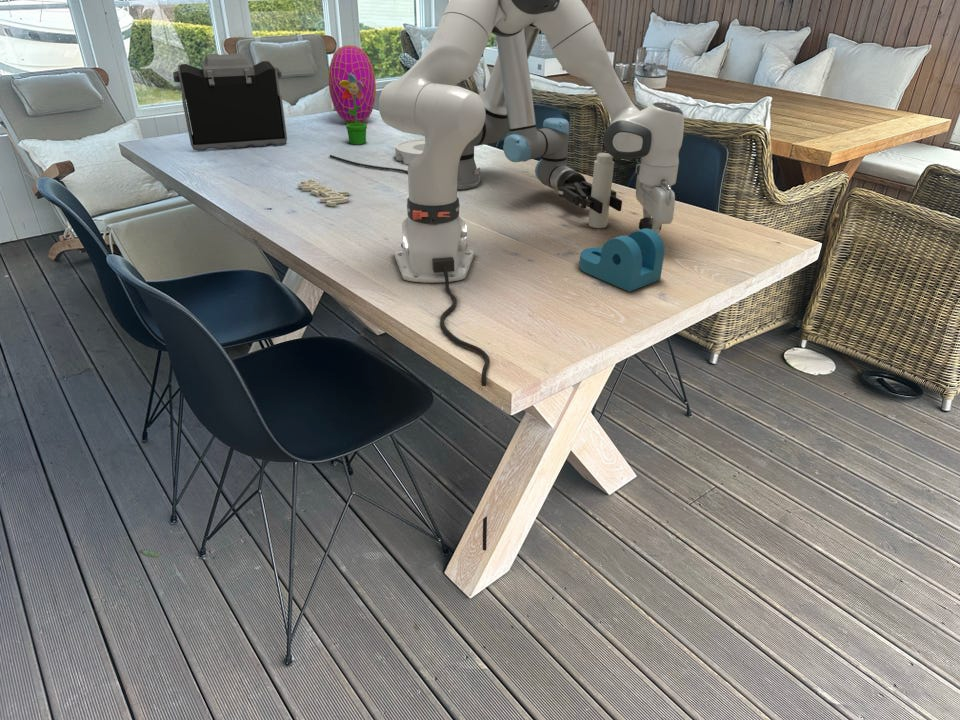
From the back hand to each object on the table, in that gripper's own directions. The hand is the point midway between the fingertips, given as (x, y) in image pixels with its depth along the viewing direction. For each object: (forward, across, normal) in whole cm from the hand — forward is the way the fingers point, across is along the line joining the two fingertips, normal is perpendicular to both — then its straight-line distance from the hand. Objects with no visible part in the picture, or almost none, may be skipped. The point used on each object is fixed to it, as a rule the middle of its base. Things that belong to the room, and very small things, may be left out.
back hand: (610, 207), depth 177 cm
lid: (+10, -6, -2) cm, 12 cm away
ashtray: (-88, +21, -7) cm, 90 cm away
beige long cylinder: (-5, 0, -6) cm, 8 cm away
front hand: (+10, -6, -3) cm, 12 cm away
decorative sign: (-58, +63, -7) cm, 86 cm away
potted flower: (-118, +40, -7) cm, 124 cm away
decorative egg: (-154, +33, -7) cm, 158 cm away
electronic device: (-134, +82, -7) cm, 157 cm away
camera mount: (+25, +13, -6) cm, 29 cm away
